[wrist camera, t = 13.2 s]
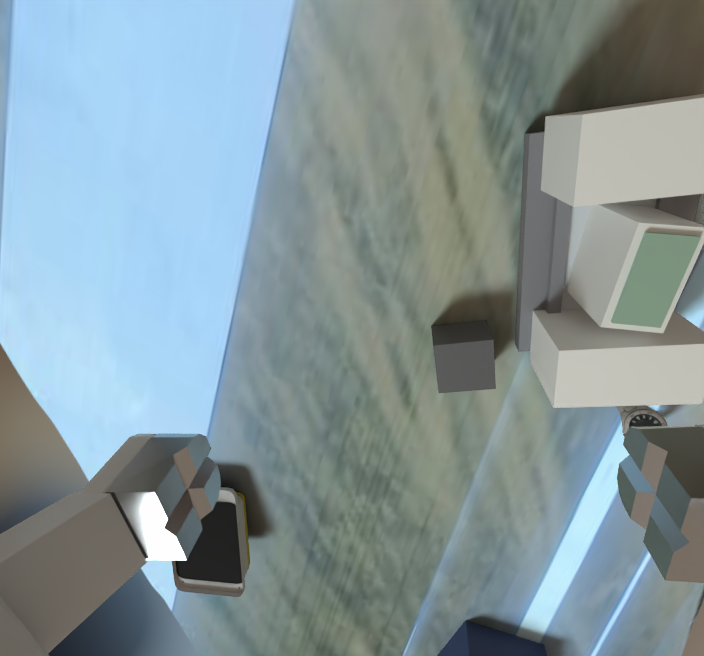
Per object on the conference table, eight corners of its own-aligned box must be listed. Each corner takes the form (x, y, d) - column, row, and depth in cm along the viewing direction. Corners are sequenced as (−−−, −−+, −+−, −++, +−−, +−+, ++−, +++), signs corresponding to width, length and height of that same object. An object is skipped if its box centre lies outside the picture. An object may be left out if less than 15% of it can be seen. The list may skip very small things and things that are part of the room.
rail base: (525, 118, 30) (563, 117, 23) (708, 92, 28) (818, 81, 21) (514, 352, 39) (539, 408, 31) (654, 345, 37) (717, 403, 29)
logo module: (592, 202, 30) (641, 223, 24) (649, 206, 30) (714, 229, 24) (565, 289, 34) (602, 329, 27) (616, 294, 33) (665, 335, 27)
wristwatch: (630, 378, 39) (659, 411, 34) (663, 419, 40) (694, 456, 36) (595, 397, 40) (618, 431, 35) (628, 436, 41) (654, 473, 37)
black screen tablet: (256, 570, 56) (248, 471, 53) (243, 597, 52) (234, 491, 49) (193, 564, 57) (182, 467, 54) (175, 590, 53) (162, 486, 50)
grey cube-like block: (431, 325, 39) (433, 345, 35) (485, 319, 38) (493, 339, 34) (436, 369, 41) (438, 393, 37) (488, 365, 40) (495, 388, 36)
